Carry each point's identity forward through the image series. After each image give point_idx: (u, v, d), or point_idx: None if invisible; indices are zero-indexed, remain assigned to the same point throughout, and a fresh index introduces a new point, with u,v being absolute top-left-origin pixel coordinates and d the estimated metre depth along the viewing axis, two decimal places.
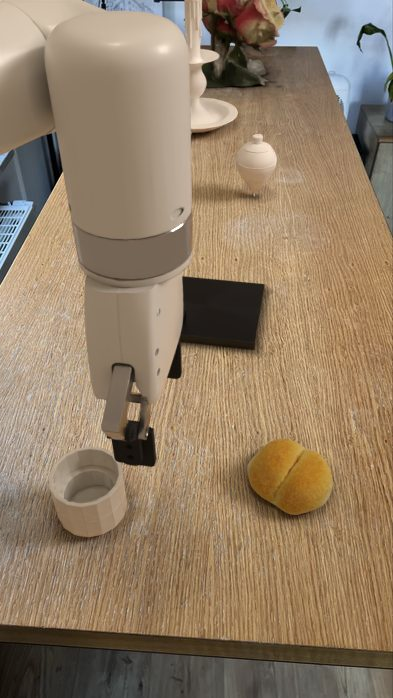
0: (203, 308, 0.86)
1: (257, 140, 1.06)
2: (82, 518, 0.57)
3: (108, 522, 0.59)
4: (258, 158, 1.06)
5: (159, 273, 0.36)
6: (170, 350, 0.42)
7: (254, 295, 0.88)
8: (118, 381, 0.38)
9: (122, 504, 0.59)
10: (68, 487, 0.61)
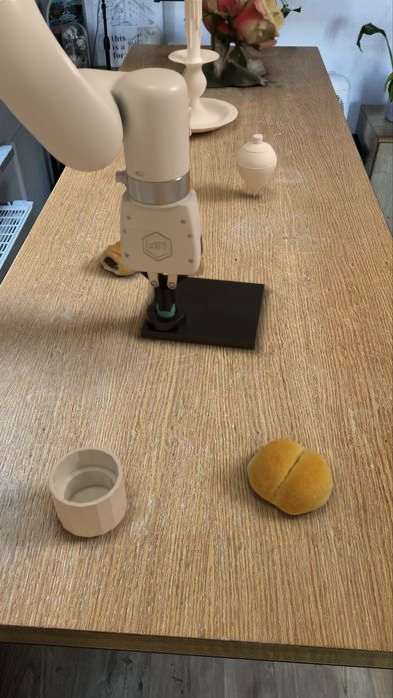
0: (203, 308, 0.86)
1: (257, 140, 1.06)
2: (82, 518, 0.57)
3: (108, 522, 0.59)
4: (258, 158, 1.06)
5: None
6: None
7: (254, 295, 0.88)
8: None
9: (122, 504, 0.59)
10: (68, 487, 0.61)
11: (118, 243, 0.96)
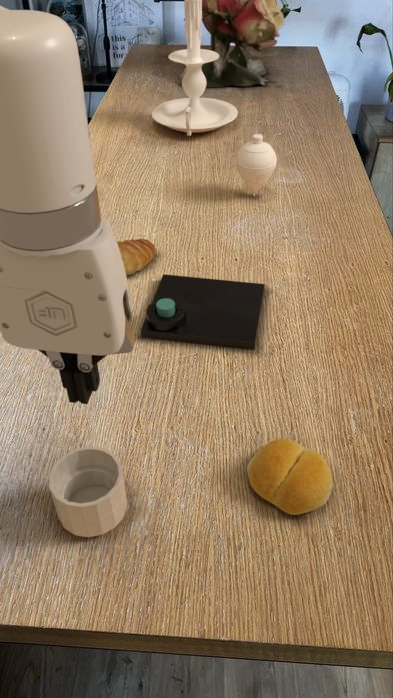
0: (203, 308, 0.86)
1: (257, 140, 1.06)
2: (82, 518, 0.57)
3: (108, 522, 0.59)
4: (258, 158, 1.06)
5: None
6: None
7: (254, 295, 0.88)
8: None
9: (122, 504, 0.59)
10: (68, 487, 0.61)
11: (118, 243, 0.96)
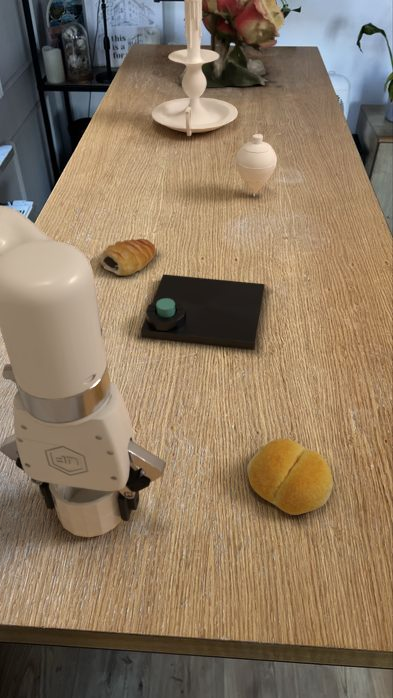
0: (203, 308, 0.86)
1: (257, 140, 1.06)
2: (82, 518, 0.57)
3: (108, 522, 0.59)
4: (258, 158, 1.06)
5: None
6: None
7: (254, 295, 0.88)
8: (138, 451, 0.54)
9: None
10: (68, 487, 0.61)
11: (118, 243, 0.96)
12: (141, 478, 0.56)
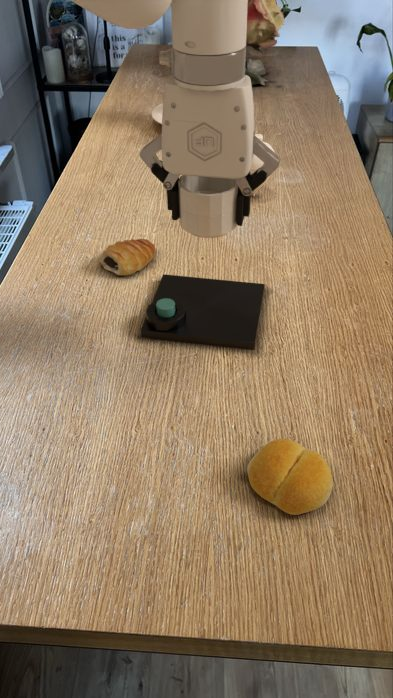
0: (203, 308, 0.86)
1: None
2: (208, 211, 0.68)
3: (227, 222, 0.70)
4: (258, 158, 1.06)
5: None
6: None
7: (254, 295, 0.88)
8: (260, 142, 0.65)
9: None
10: None
11: (118, 243, 0.96)
12: (259, 173, 0.67)
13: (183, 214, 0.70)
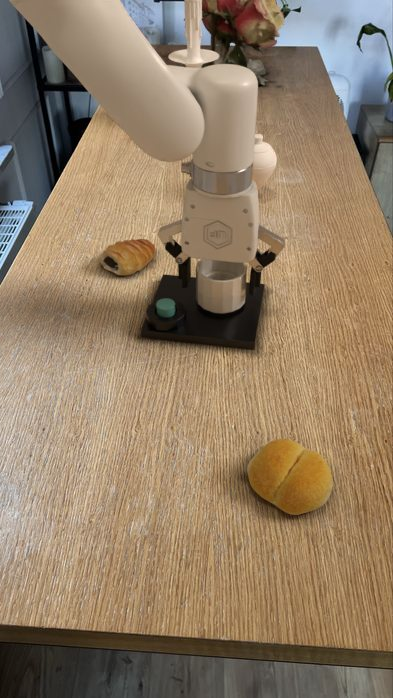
0: None
1: (257, 140, 1.06)
2: (221, 293, 0.81)
3: (236, 301, 0.83)
4: (258, 158, 1.06)
5: None
6: None
7: (254, 295, 0.88)
8: (265, 231, 0.78)
9: (245, 291, 0.84)
10: None
11: (118, 243, 0.96)
12: (269, 254, 0.79)
13: (200, 294, 0.84)
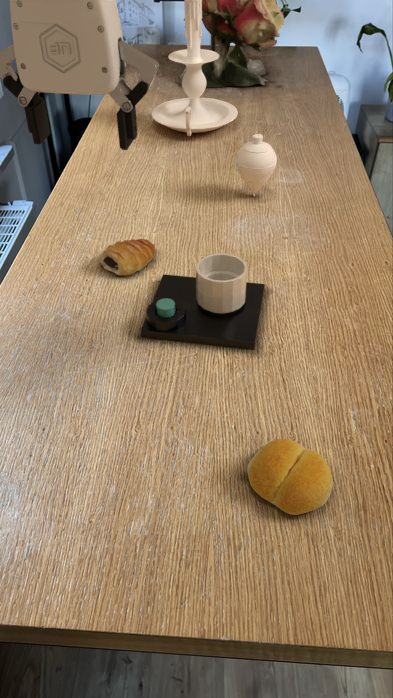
0: None
1: (257, 140, 1.06)
2: (221, 293, 0.81)
3: (236, 301, 0.83)
4: (258, 158, 1.06)
5: None
6: None
7: (254, 295, 0.88)
8: (128, 47, 0.57)
9: (245, 291, 0.84)
10: None
11: (118, 243, 0.96)
12: (139, 84, 0.58)
13: (200, 294, 0.84)
